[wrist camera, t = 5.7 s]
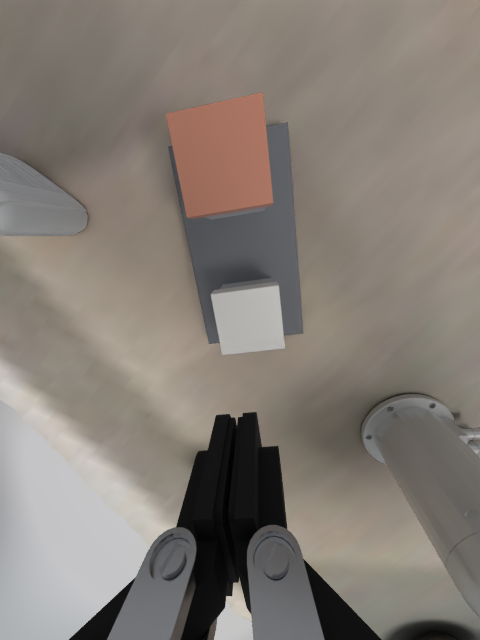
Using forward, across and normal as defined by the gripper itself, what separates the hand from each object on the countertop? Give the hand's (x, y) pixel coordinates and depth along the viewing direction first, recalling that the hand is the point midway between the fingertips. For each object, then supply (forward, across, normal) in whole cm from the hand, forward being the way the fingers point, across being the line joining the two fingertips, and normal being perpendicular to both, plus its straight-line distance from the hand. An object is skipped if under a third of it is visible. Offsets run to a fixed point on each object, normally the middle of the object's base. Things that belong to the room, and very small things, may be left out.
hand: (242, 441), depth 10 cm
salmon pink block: (+17, 0, -13) cm, 22 cm away
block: (+23, 0, -7) cm, 24 cm away
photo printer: (+23, +22, -16) cm, 35 cm away
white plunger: (+21, 0, 0) cm, 21 cm away
